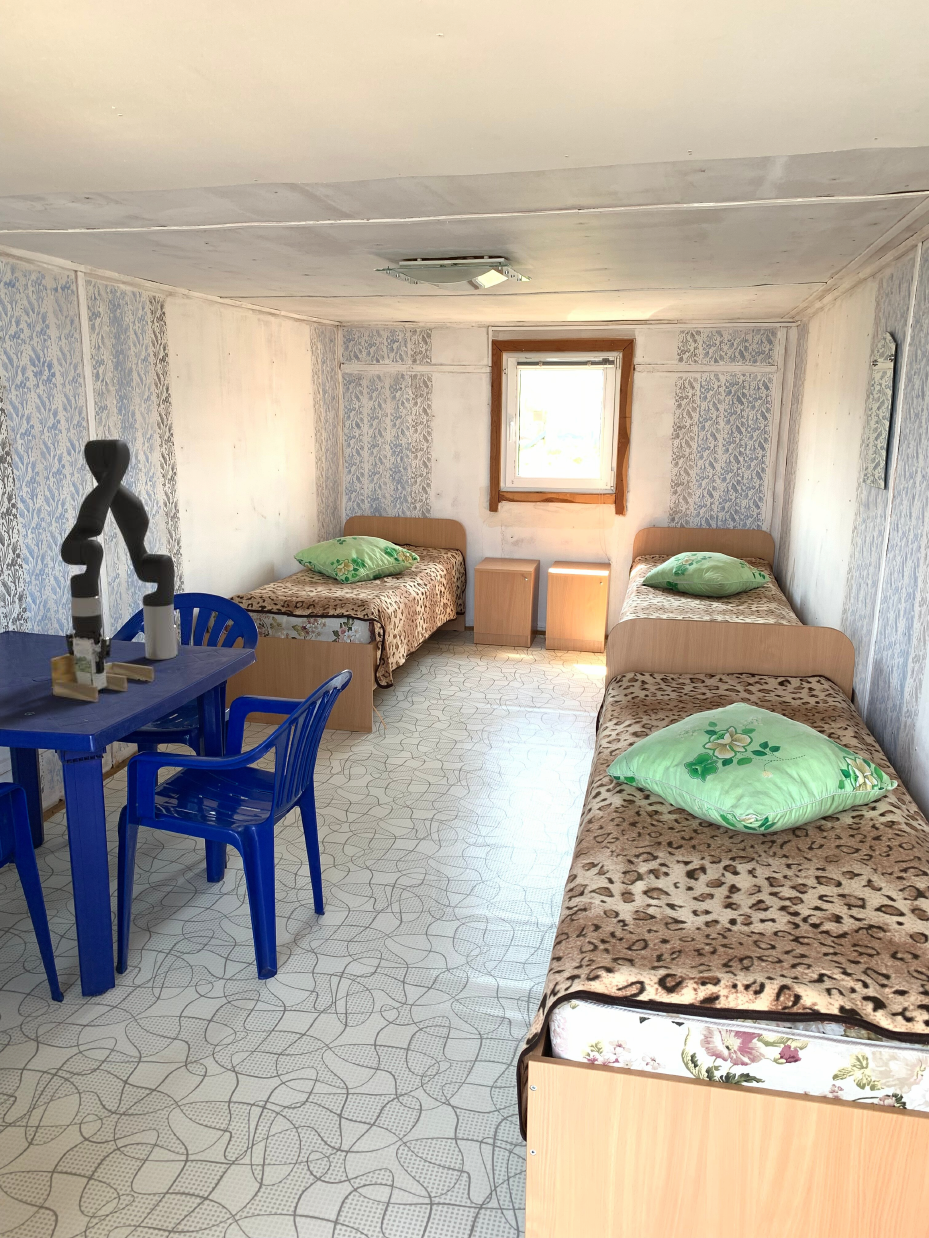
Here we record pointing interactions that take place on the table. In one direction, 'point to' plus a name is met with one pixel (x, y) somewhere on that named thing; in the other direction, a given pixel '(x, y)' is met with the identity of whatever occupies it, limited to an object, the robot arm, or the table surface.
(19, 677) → the table surface
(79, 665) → the syrup box
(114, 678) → the wooden rack
